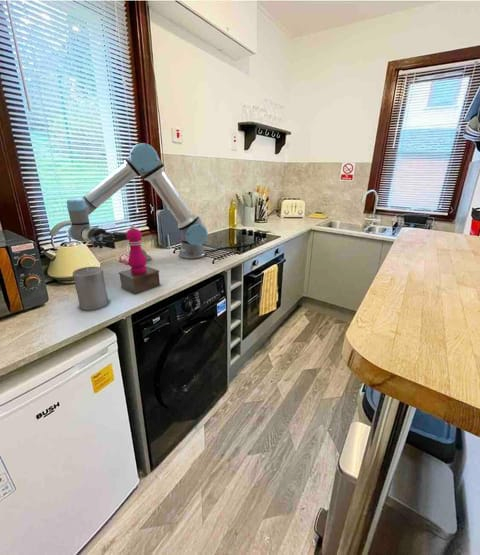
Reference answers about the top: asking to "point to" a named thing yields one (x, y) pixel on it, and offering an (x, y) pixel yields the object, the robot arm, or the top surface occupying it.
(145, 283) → the block
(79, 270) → the pillar candle
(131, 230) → the pepper mill
